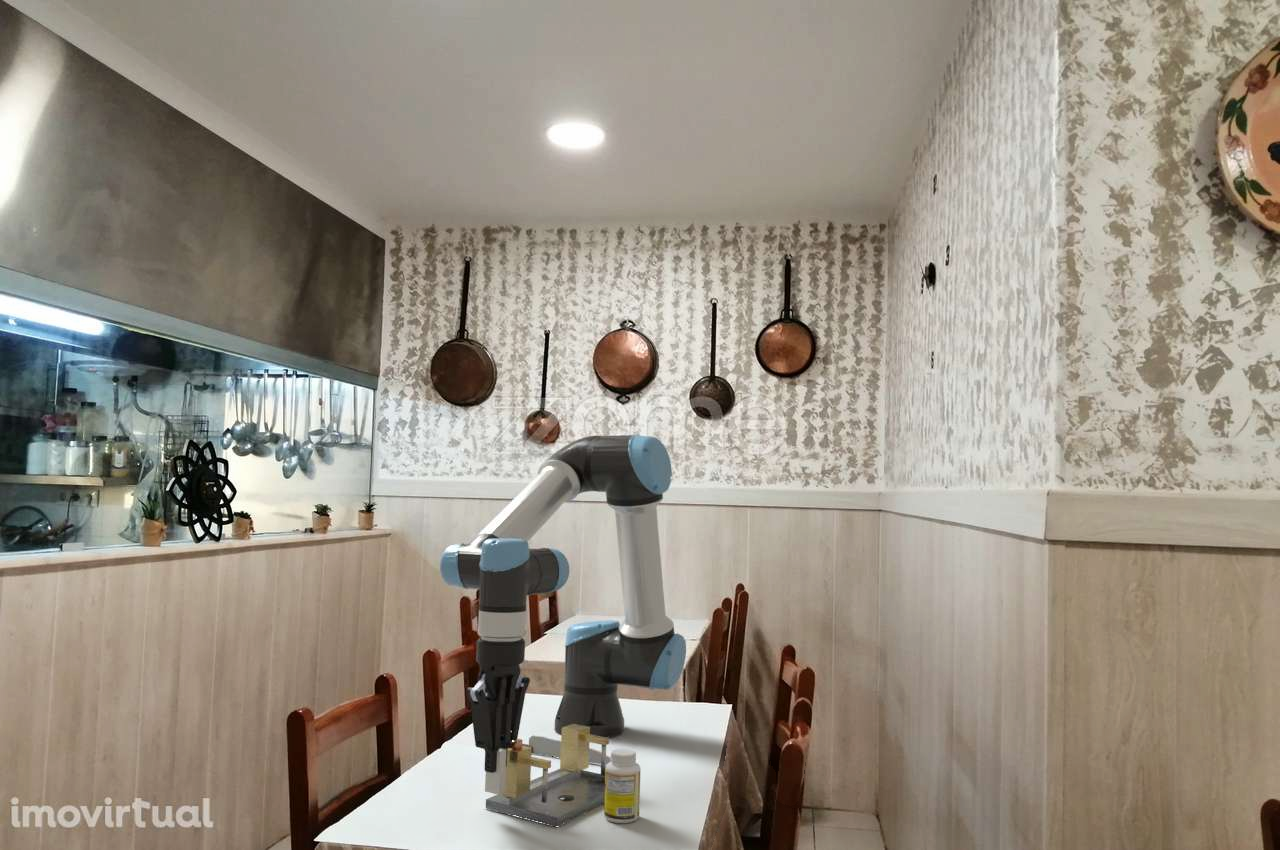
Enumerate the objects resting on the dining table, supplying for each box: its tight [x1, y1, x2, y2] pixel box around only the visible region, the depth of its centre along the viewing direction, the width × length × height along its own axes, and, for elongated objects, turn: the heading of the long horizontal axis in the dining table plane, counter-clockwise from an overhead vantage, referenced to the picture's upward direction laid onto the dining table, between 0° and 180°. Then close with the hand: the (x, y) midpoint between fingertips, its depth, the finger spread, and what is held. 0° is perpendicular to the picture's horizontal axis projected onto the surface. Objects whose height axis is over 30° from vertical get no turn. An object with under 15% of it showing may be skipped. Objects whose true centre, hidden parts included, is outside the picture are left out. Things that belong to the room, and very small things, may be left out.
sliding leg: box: [500, 738, 552, 803], centre depth 141 cm, size 4×8×8 cm, turn 60°
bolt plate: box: [485, 768, 605, 827], centre depth 148 cm, size 22×14×2 cm, turn 150°
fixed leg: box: [559, 724, 610, 776], centre depth 155 cm, size 4×8×7 cm, turn 60°
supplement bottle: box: [603, 748, 641, 824], centre depth 140 cm, size 6×6×10 cm
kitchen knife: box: [522, 734, 611, 765], centre depth 172 cm, size 4×1×30 cm
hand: (494, 791), depth 138 cm, fingers closed
